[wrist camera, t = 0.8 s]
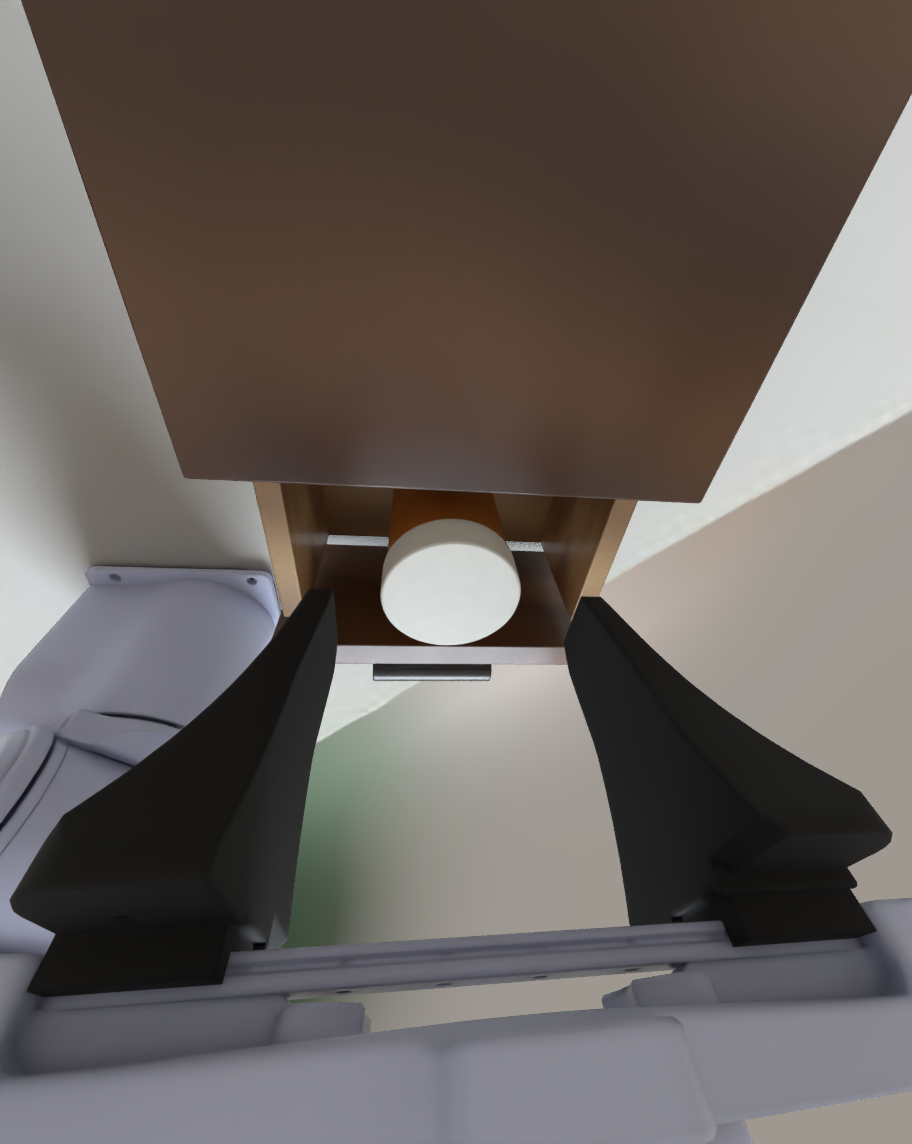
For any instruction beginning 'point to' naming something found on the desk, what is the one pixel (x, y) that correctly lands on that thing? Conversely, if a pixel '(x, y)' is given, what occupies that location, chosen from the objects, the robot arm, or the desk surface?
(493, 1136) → the robot arm
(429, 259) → the cabinet
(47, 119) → the desk surface
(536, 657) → the drawer
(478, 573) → the pill bottle
